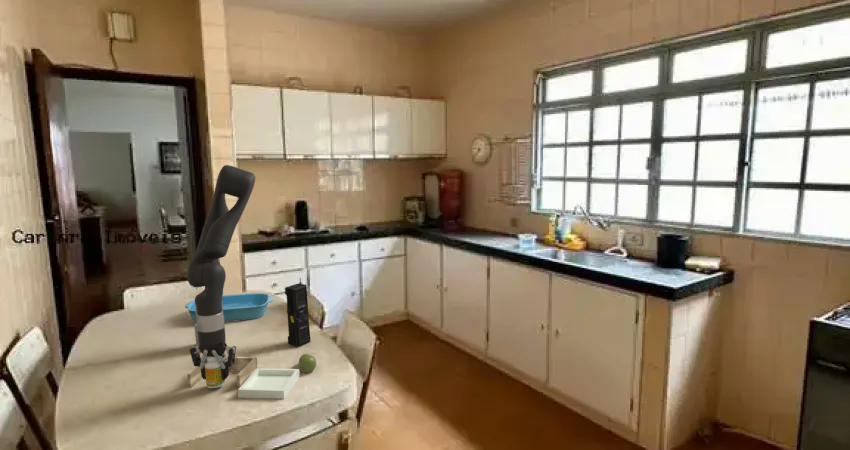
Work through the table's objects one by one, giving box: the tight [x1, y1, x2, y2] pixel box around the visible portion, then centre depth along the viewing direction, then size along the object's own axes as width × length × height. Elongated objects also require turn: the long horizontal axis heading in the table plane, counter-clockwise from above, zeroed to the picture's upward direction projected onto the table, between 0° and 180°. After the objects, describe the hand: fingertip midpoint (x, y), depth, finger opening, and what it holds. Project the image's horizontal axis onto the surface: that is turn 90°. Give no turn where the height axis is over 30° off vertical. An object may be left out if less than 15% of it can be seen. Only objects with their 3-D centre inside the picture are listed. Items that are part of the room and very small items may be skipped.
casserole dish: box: [184, 292, 274, 323], centre depth 211 cm, size 37×22×7 cm, turn 105°
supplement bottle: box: [205, 356, 226, 389], centre depth 145 cm, size 5×5×10 cm
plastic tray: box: [237, 367, 301, 400], centre depth 146 cm, size 14×14×2 cm
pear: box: [298, 353, 317, 373], centre depth 158 cm, size 6×5×10 cm
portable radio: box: [284, 278, 312, 348], centre depth 177 cm, size 8×6×25 cm
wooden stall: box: [187, 356, 258, 390], centre depth 152 cm, size 17×13×4 cm
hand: (215, 378), depth 146 cm, fingers closed on supplement bottle, 5 cm apart
